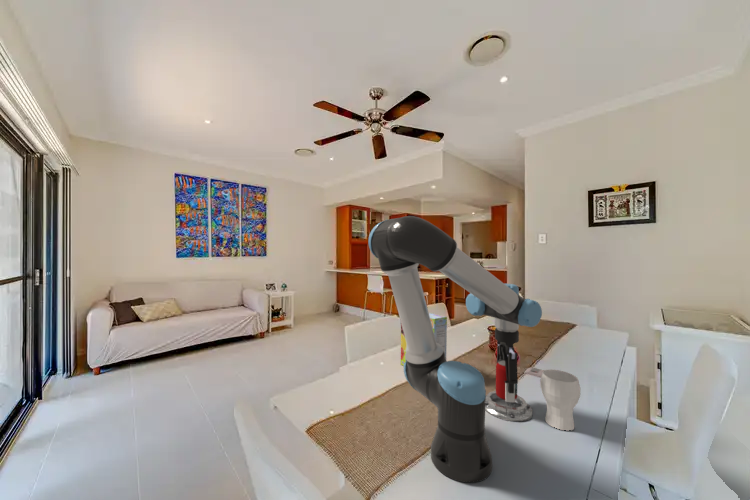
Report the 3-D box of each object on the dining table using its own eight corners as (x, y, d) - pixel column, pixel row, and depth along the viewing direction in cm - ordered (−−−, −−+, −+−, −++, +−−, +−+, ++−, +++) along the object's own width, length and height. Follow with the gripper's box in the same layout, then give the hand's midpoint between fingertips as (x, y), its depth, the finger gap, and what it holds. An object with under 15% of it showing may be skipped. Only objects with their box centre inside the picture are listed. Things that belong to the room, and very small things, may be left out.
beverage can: (516, 404, 96) (516, 367, 96) (494, 398, 99) (494, 363, 99) (518, 395, 101) (518, 361, 101) (497, 390, 105) (497, 357, 105)
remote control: (523, 368, 135) (523, 362, 135) (563, 378, 124) (563, 371, 124) (519, 373, 130) (519, 366, 130) (560, 384, 119) (560, 376, 119)
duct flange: (540, 423, 91) (540, 415, 91) (487, 419, 94) (487, 410, 94) (522, 398, 107) (522, 390, 107) (477, 394, 109) (477, 387, 109)
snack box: (448, 376, 125) (448, 316, 125) (433, 381, 120) (434, 319, 120) (412, 360, 142) (413, 307, 142) (399, 364, 137) (399, 310, 137)
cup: (581, 438, 84) (581, 386, 84) (539, 426, 90) (539, 377, 90) (579, 420, 93) (579, 373, 93) (540, 410, 99) (541, 366, 99)
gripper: (529, 338, 90) (529, 412, 90) (508, 322, 109) (508, 383, 110) (504, 337, 91) (504, 410, 91) (487, 321, 110) (487, 382, 111)
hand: (506, 395), depth 100 cm, fingers closed on beverage can, 7 cm apart
